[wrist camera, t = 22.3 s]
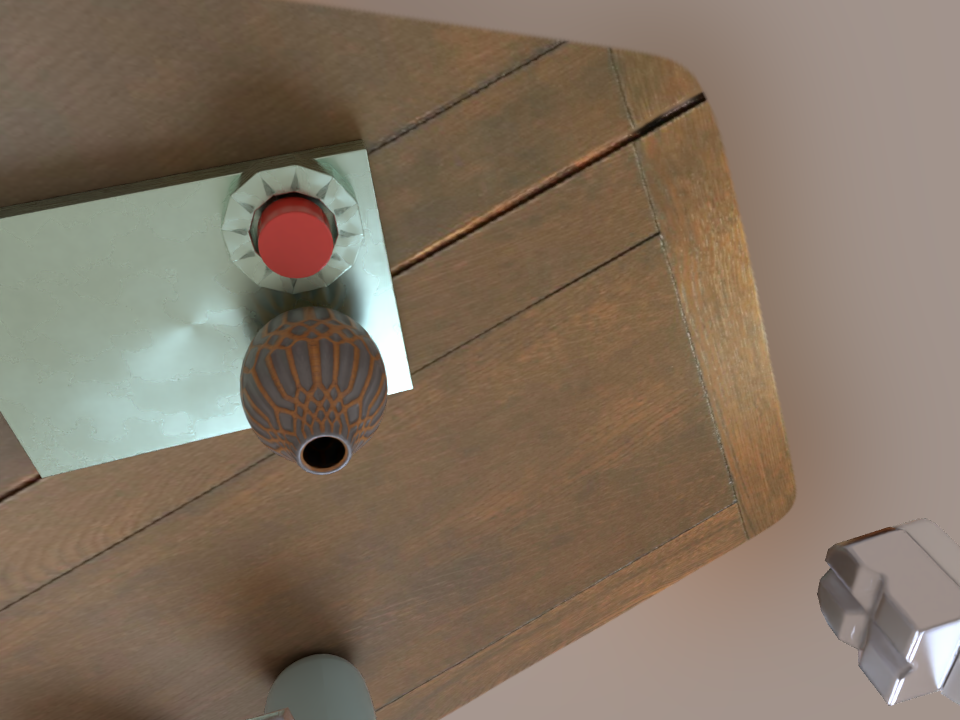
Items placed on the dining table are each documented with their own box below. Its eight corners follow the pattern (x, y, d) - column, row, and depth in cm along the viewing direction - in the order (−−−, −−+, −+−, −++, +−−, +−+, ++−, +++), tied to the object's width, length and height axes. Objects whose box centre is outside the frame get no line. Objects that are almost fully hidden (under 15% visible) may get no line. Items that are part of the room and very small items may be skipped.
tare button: (321, 189, 33) (324, 205, 32) (336, 253, 35) (340, 270, 34) (248, 204, 33) (248, 220, 32) (267, 267, 35) (269, 285, 33)
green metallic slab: (360, 129, 35) (369, 150, 33) (409, 375, 44) (419, 406, 41) (-103, 215, 32) (-130, 246, 30) (47, 461, 41) (35, 500, 38)
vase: (251, 406, 40) (253, 525, 33) (229, 293, 36) (226, 402, 29) (379, 388, 42) (407, 499, 35) (372, 278, 38) (401, 378, 31)
